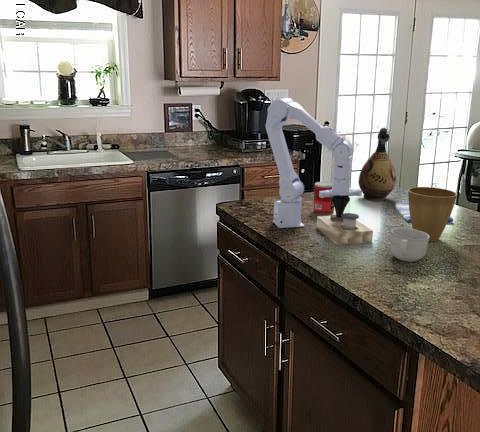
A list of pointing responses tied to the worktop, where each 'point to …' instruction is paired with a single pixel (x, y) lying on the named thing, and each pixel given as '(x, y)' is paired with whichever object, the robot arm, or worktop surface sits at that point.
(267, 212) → the worktop surface
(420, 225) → the plant pot
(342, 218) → the knob rear
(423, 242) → the teacup
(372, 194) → the ceramic jug
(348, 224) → the knob front
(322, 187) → the canned food
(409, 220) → the dish towel
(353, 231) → the knob mount
